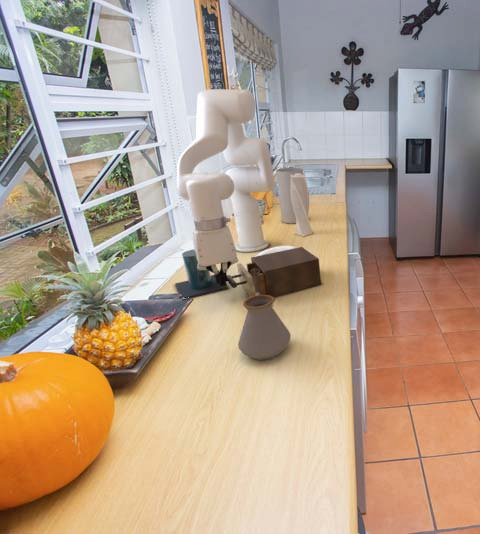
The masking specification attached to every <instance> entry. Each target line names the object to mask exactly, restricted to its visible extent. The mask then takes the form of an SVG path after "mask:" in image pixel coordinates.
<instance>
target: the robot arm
mask: <svg viewBox="0 0 480 534" xmlns="http://www.w3.org/2000/svg"><path fill="white" fill-rule="evenodd" d="M196 100H197V103H196V123H195V125H196V126H195V127H196V128H195V129H196V130H195V139H194V140H192V142H191V143H190V144H189V145H188V146H187V147H186V148H185V149H184V151H182V153H181V155H180V156H179V158H178V161H177V166H176V188H177V192H178V195H179V196H180V197H181V198H182V199H183V200H186V201H189V206H190V209H191V214H192V219H193V223H194V227H195V229H193V230H192V241H193V242H192V243H193V249H194V250H195V255H196V259H197V261H198V269H199V270H209V271H210V273H211V274H213V275H215V280H216V283H217V284H218V283H219V285H220V286H221V287H222V286H223V285H224V286H227V287H228V285H227V283H228V279H227V275H228V274H227V272H228V270H229V269H230V268H231V266H232V265H234V264H238V262H239V258H238V256H237V251H238V252H242V253H252V252H258V251H262V250H266V249H267V248H268V247H269V245H270V244H269V241H268V240H265V238H264V232H263V226H262V218H261V212H260V206H259V205H260V204H259V202H258V200H257V199H256V198H255V196H253V195H252V194H254V193H270V192H272V191H273V190H274V189H275V176H274V170H273V164H272V159H271V153H270V148H269V145H268V143H267V141H266V140H265V139H264V138H262V137H246V134H245V131H244V125H243V124H248V123H249V122H251V120H252V119H253V118H254V116H255V115H256V110H257V109H256V108H257V104H256V99H255V97H254V94H253V93H252V91H250V90H248V89H243V88H239V89H236V88H234V89H232V88H231V89H229V88H228V89H225V88H213V89H204V90H200V91H199V92H198V93H197V95H196ZM220 153H222V155H223V159H224V161H225V162H226V163H227V164H229V165H231V166H237V167H231V168H229V169H227V170H226V171H225V173H224V172H195V173H193V172H194V170H195V168H196V167H197V166H198V165H199V164H200V163H202V162H204V161H205V160H207V159H210V158H212V157H214V156H216V155H218V154H220ZM228 199H230V202H231V206H232V212H233V219H234V223H235V229H236V234H237V239H238V243H236V244H235V241H234V238H233V236H232V232H231V230H230V227H229V225H228V224H227V223H230V222H231V217H230V216H225V215H224V210H223V209H224V208H223V205H222V204H223V203H222V201H225V200H228ZM219 264H220V269H218V267H217V265H219Z"/></svg>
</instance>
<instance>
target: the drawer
mask: <svg viewBox="0 0 480 534" xmlns="http://www.w3.org/2000/svg"><path fill="white" fill-rule="evenodd" d="M236 267H237V271H238V274H234V275H231V274H227V279H228V281H227V283H228V284H229V285H230V287H231V288H232V289H236V288H238V286H241V287H242V288H243V290H244V291H245V292H246V293H247V295H248V296H249V297H252V296H256V292H255V287H254V282H253V281H254V277H253V274H251V273H253V270H252V269H253V268H256V271H257V272H256V273H258V272H259V270H260V269H259V268H258V267H257V265H256V264H255V263H254V262H253V263H252V262H248V263H246V267H244V265H243V264H242V263H241V262H240V263H236ZM257 269H259V270H257ZM251 270H252V271H251ZM257 277H258V280H259V291H260V293H259V294H260V295H265V293H267V289H266V282H265V276H264V273H263V272H262V271H261V270H260V272H259V273H258V276H257ZM236 278H239V282H236V281H235V279H236Z"/></svg>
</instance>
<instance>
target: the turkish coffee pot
mask: <svg viewBox="0 0 480 534" xmlns="http://www.w3.org/2000/svg"><path fill="white" fill-rule="evenodd" d="M252 270H253V273H251V274H253V277H254V281H253V282H254V287H255V294H256V296H252V297H250V296H249V297H248V298H246V299H244V301H243V302H242V306H243V307H244V309H246V311H247V313H246V316H245V319H244V322H243V326H242V328H241V333H240V335H239V340H238V343H237V346H238V350H239V351H240V352H241V353H242V354H243V355H245V356H247V357H248V358H252V359H254V360H258V361H265V360H270V359H273V358H275V357H277V356H279V355H280V354H281V353H283V351H284V350H285V349H286V348H287V347H288V345H289V344H290V342H291V337H292V335H291V332H290V331H289V329H288V328H287V326H286V325H285V323H284V322H283V320H282V319H281V318H280V317H279V314H277V312H276V310H274V308H273V305H274V302H275V301H276V297H272V296H270V295H265V294H261V295H260V294H259V293H260V291H259V280H258V277H257V276H258V273H259V272H260V270H259V269H257V270H259V272H258V273H256V272H257V271H256V268H253V269H252ZM252 270H251V271H252Z"/></svg>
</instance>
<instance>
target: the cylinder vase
mask: <svg viewBox="0 0 480 534" xmlns="http://www.w3.org/2000/svg"><path fill="white" fill-rule="evenodd" d="M303 170H304V169H303V168H301V167H282V168H277V169H275V176H276V183H277V192H278V199H279V206H280V214H281V221H282V223H284V224H290V225H291V224H293V225H294V224H296V216H295V213H294V210H293V206H292V201H291V174H292V175H294V174H297V173H300V174H301V175H303Z"/></svg>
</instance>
